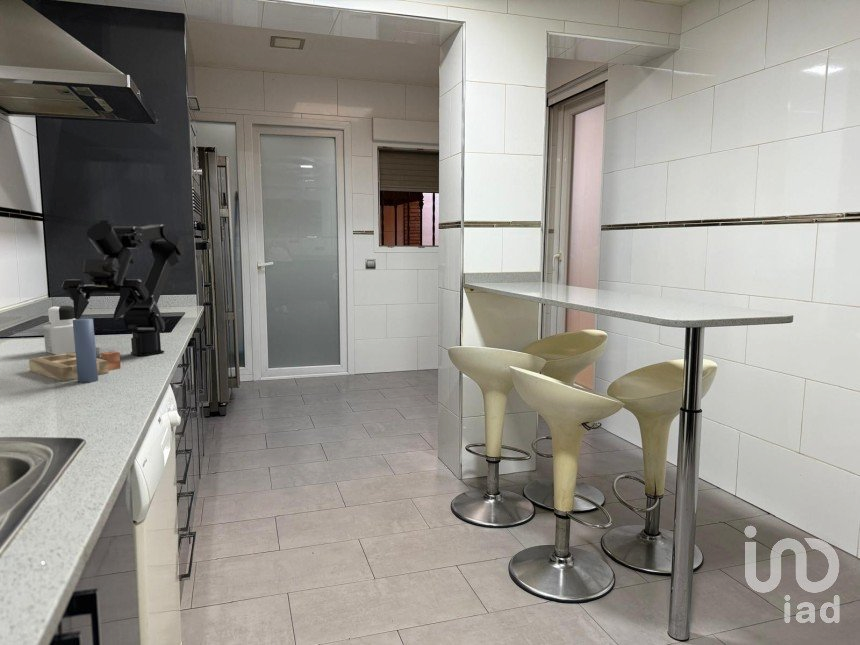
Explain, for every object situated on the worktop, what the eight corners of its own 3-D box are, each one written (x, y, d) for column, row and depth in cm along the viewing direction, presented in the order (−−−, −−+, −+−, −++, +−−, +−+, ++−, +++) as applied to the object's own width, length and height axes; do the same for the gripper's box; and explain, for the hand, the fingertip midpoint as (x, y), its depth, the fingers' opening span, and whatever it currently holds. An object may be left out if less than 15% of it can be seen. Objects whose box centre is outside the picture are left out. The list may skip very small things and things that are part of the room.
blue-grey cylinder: (93, 377, 141) (87, 318, 139) (101, 380, 138) (96, 319, 136) (74, 381, 137) (69, 320, 135) (83, 383, 135) (77, 321, 133)
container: (74, 348, 178) (70, 304, 176) (85, 351, 173) (81, 305, 171) (45, 352, 172) (40, 306, 170) (55, 355, 167) (51, 308, 165)
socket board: (91, 360, 159) (90, 345, 159) (126, 369, 149) (125, 353, 148) (29, 370, 148) (28, 354, 147) (63, 381, 137) (62, 363, 137)
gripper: (60, 246, 145) (37, 299, 137) (138, 245, 145) (119, 299, 137) (83, 274, 155) (63, 326, 146) (156, 274, 154) (140, 326, 146)
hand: (95, 318), depth 143 cm, fingers open, 9 cm apart
